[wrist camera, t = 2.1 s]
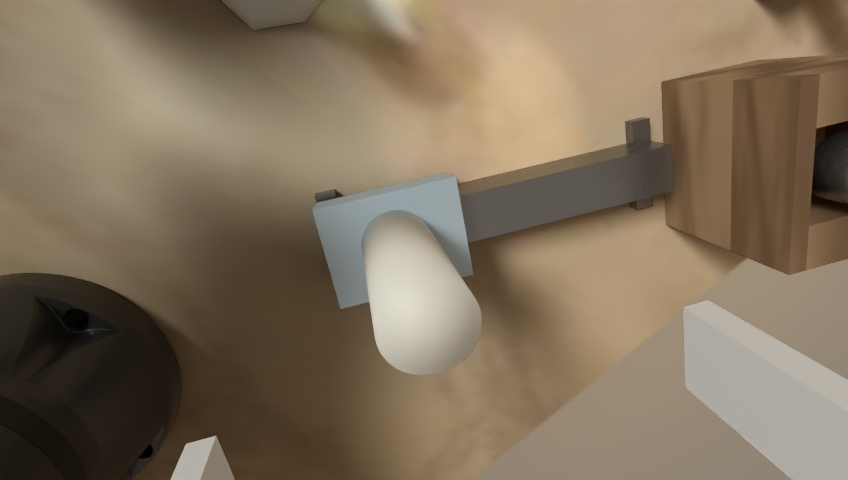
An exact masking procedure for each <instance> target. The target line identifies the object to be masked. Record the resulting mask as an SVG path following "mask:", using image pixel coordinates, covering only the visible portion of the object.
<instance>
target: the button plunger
mask: <svg viewBox="0 0 848 480" xmlns="http://www.w3.org/2000/svg"><path fill="white" fill-rule="evenodd" d="M812 192H813V194H815V195H816V196H818V197H820V198H824V199H829V200H833V201H837V202H842V203H846V204H848V129H843V130H839V131H836V132H834V133H832V134H830V135H828V136H827V137H826V138H824V139H823V140H822V141H821V142H820V143H819V144H818V146H817V147H816V148H815V152H814V166H813V180H812Z"/></svg>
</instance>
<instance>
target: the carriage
mask: <svg viewBox="0 0 848 480" xmlns="http://www.w3.org/2000/svg"><path fill="white" fill-rule="evenodd" d="M312 212H313V216H314V219H315V223H316V226H317V229H318V233H319V236H320V240H321V243H322V247H323V250H324V254H325V257H326V261H327V264H328V268H329V271H330V274H331V278H332V281H333V285H334V288H335V292H336V295H337V299H338V302H339V306H340V309H343V308H347V307H351V306H355V305H359V304H363V303H367V302H370V309H371V315H372V322H373V329H374V335H375V341H376V344H377V347H378V349H379V351H380V353H381V355H382V356H383V357H384V359H385V360H386V361H387V362H388V363H389V364H391V365H392V366H393V367H395V368H396V369H398V370H400V371H402V372H405V373H408V374H412V375H419V376H427V375H434V374H439V373H442V372H445V371H447V370H450V369H452V368H453V367H455V366H457V365H458V364H460V363H461V362H462V361H463V360H464V359H465V358H466V357H467V356H468V355H469V354H470V353H471V352H472V350H473V349H474V347H475V346H476V344H477V342H478V340H479V337H480V333H481V328H482V315H481V310H480V307H479V305H478V302H477V300H476V299H475V297H474V296H473V294H472V293H471V291H470V290H469V288H468V287H467V285H466V283H465V282H464V280H463V279H462V278H463V277H467V276H471V275H474V274H473V269H472V263H471V258H470V252H469V247H468V241H467V236H466V230H465V224H464V219H463V213H462V208H461V202H460V197H459V191H458V186H457V180H456V176H454V175H453V174H448V175H447V174H446V173H441V174H437V175H433V176H428V177H424V178H420V179H416V180H411V181H407V182H403V183H399V184H394V185H390V186H386V187H382V188H377V189H373V190H369V191H365V192H360V193H356V194H352V195H348V196H343V197H339V198H335V199H331V200H326V201H322V202H318V203H316V206H313V208H312Z"/></svg>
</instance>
